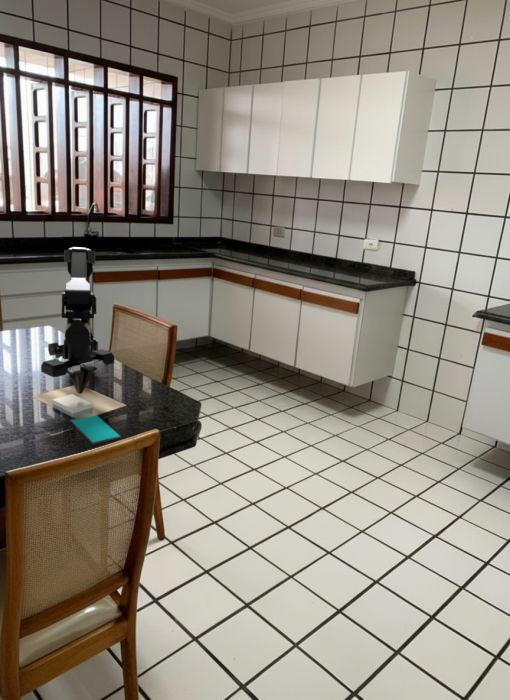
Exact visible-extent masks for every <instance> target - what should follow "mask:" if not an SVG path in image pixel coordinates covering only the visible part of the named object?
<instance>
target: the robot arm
mask: <svg viewBox="0 0 510 700" xmlns="http://www.w3.org/2000/svg"><path fill="white" fill-rule="evenodd" d="M63 251H64V261H63V262H64V265H66V266H67V272H68V274H69V276H70V280H69V281H68V282H66V283H65V285H64V292H61V319H66V328H65V332H64V339H63V344H60V345H59V343H58V342H51V343H48V347H47V350H48V355H49V356H51V357H52V356H55V358H54V359H49V360H45V361H43V362H42V363H41V365H40V372H41V373H42V374H45V375H48V376H50V377H52V378H58V377H63V376H65V375H68V376H69V377H70V378H71V381H72V383H73V386H75V388H76V390H77V393H79V394H81V393H83V391H84V389H85V387H86V386H87V384H88V383H89V381H90V379H91V378H92V376H93V375H95V374H98V373H97V369H98V367H96V366H95V364H94V363H98V362H101V361H102V363H103V364H104V365H105V366H109V365H111V364H115V355H114V353H113V352H111V351H108V350H106V349H99V342H98V341H97V339H96V337H94V330H93V327H91V319H94V318H95V315H96V314H97V297H96V296H95V292H92V285H91V283H89V282H88V280H89V279H90V277H91V275H92V274H93V271H94V270H93V269H94V268H93V267H94V266H96V251H95V250H92V249H90V248H87V247H81V246H80V247H78V246H72V247H70V248H68V249H64V250H63ZM61 357H62V359H63V360H65V361H62V360H59V359H60V358H61ZM58 358H59V359H58ZM86 388H87V387H86Z"/></svg>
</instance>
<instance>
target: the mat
mask: <svg viewBox="0 0 510 700" xmlns="http://www.w3.org/2000/svg"><path fill="white" fill-rule="evenodd" d="M71 394H73V395H75V396H77V397H80V398H82V399H84V400H86V401H88V402H90V403H93V411H92V412H88V413H85V414H82V415H79V416H76V417H72V418H73V419H78V420H80V418H85V417H90V416H95V415H98V416H99V415H102V414H104V413H108V412H111V411H114V410H118V409H120V408H124V407H127V404H125V403H123V402H121V401H118V400H116V399H113V398H111V397H109V396H106V395H105V394H102V393H100V392H99V391H98V392H97V391H96V390H93V389H90V388H89V387H85V389H84V391H83V393H81V394H79V393H77V390H76V388H75V386H74V385H70V386H66V387H62V388H59V389H55V390H51V391H47V392H43V393H41V394H37V395H32V396H31V397H32V398H34V399H35V400H37V401H40V402H42V403H43V404H46V405H48V406H49V407H51V408H53V403H52V400H53V399H56V398H60V397H64V396H67V395H71Z"/></svg>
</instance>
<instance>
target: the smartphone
mask: <svg viewBox="0 0 510 700" xmlns="http://www.w3.org/2000/svg"><path fill="white" fill-rule="evenodd" d="M69 422H71V424H72V425H73V427H74V428H75V429H76V430H77V431H78V432H79V434H81V435H82V436H83V438H85V440H86V441H87V442H89V443H90V444H91V445H94V446H95V445H97V444H102V443H105V442H110V441H114V440H118V439H119V440H120V439H122V436H121V434H120V433H118V432H117V431H116V430H115V429H114V428H112V427H111V425H109V424H108V423H107V422H106V421H105V420H103V418H101V417H100V416H99V415H95V416H90V417H85V418H80V420H78V419H75V418H73V419H69Z"/></svg>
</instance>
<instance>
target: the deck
mask: <svg viewBox="0 0 510 700" xmlns="http://www.w3.org/2000/svg"><path fill="white" fill-rule="evenodd" d="M52 403H53V407H52V408H53V409H55V410H57V411H59V412H61V413H63V414H65V415H67V416H69V417H71V418H73V417H76V416H79V415H82V414H85V413H88V412H92V411H93V403H90V402H88V401H86V400H84V399H82V398H80V397H77V396H75V395H73V394H71V395H67V396H64V397H60V398H56V399H53V400H52Z"/></svg>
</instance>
